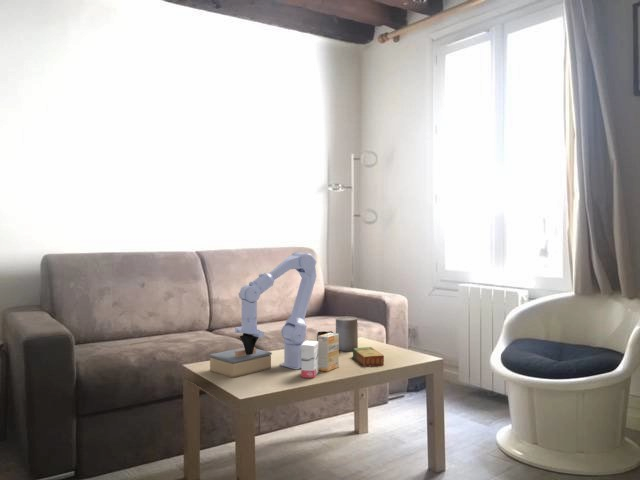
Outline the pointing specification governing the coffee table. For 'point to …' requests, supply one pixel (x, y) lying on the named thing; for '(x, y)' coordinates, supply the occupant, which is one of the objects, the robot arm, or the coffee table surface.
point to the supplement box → (328, 351)
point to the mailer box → (240, 366)
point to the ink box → (309, 359)
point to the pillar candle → (347, 332)
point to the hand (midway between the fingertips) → (249, 354)
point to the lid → (239, 355)
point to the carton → (368, 356)
